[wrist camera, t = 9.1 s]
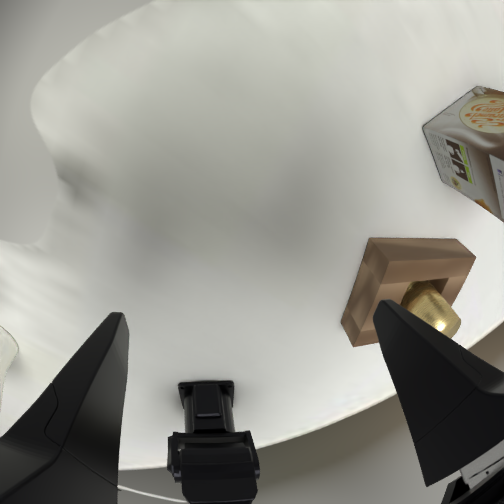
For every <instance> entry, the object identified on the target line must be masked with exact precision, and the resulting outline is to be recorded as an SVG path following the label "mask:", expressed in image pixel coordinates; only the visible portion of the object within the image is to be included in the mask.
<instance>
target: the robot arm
mask: <svg viewBox="0 0 504 504" xmlns="http://www.w3.org/2000/svg"><path fill="white" fill-rule="evenodd" d="M373 323H374V327H375V330H376V333H377V337H378V340H379V344H380V347H381V351H382V354H383V357H384V360H385V362H386V365H387V367H388V370H389V373H390V375H391V378H392V381H393V383H394V386H395V389H396V392H397V394H398V397H399V400H400V403H401V406H402V409H403V412H404V415H405V417H406V420H407V424H408V426H409V430H410V433H411V436H412V439H413V442H414V446H415V449H416V453H417V456H418V460H419V463H420V467H421V470H422V474H423V478H424V482H425V485H426V487H428V486H430V485H432V484H434V483H436V482H438V481H440V480H442V479H444V478H445V477H447V476H449V475H451V474H453V473H454V472H456V471H458V470H459V471H460V473H461V476H460V477H458V478H457V479H456V480H454V481H452V482H451V483H449V484H448V486H447V489H446V492H445V495H444V497H443V500H442V503H441V504H504V372H502V371H501V370H499V369H497V368H496V367H494V366H492V365H490V364H489V363H487V362H485V361H484V360H482V359H480V358H479V357H477V356H475V355H474V354H472V353H471V352H469V351H468V350H466V349H465V348H464V347H462V346H461V345H458V343H456V342H455V341H453V340H452V339H450V338H449V337H447V336H446V335H444V334H443V333H441V332H440V331H439V330H437V329H436V328H434V327H433V326H431V325H430V324H428V323H427V322H425V321H423V320H422V319H420V318H419V317H417V316H416V315H414V314H413V313H411V312H410V311H408V310H407V309H405V308H404V307H402V306H401V305H399V304H397V303H396V302H394V301H393V300H391V299H382V300H380V301H379V303H378V305H377V307H376V310H375V312H374V314H373ZM128 349H129V329H128V326H127V322H126V319H125V315H124V314H123V313H122V312H112V313H110V314H109V315H108V316H107V317H106V319H105V320H104V321H103V322H102V323H101V324H100V325H99V326H98V328H97V329H96V330H95V331H94V332H93V333H92V334H91V336H90V337H89V338H88V339H87V340H86V341H85V342H84V344H83V345H82V346H81V347H80V348H79V349H78V351H77V352H76V353H75V354H74V355H73V356H72V358H71V359H70V360H69V361H68V362H67V364H66V365H65V366H64V367H63V368H62V370H61V371H60V372H59V373H58V375H57V376H56V377H55V378H54V379H53V381H52V383H50V384H49V386H48V387H47V388H46V389H45V391H44V392H43V393H42V394H41V395H40V397H39V398H38V399H37V400H36V401H35V402H34V403H33V405H32V406H31V407H30V408H29V409H28V410H27V411H26V412H25V413H24V414H23V415H22V416H21V417H20V418H19V419H18V420H17V422H16V423H15V424H14V425H13V426H12V427H11V428H10V429H9V430H8V431H7V432H6V433H5V434H4V435H3V436H2V437H0V504H117V492H118V487H117V486H118V463H119V448H120V436H121V425H122V415H123V407H124V399H125V391H126V384H127V374H128ZM178 389H179V393H180V397H181V401H182V405H183V409H184V412H185V433H178V432H173V435H172V436H170V437H168V459H167V470H168V471H169V472H171V473H172V475H173V477H174V479H175V483H182V493H183V496H184V498H185V500H186V501H187V502H188V503H189V504H251V503H252V501H253V500H254V499H255V496H256V494H257V491H258V490H257V485H256V484H257V483H256V480H258V479H259V476H260V468H259V460H258V457H257V453H256V449H255V446H254V443H253V439H252V436H251V432H250V431H245V432H235V427H234V421H233V413H232V407H233V398H234V383H233V382H230V381H229V382H209V383H180V384H178ZM180 449H181V450H180Z"/></svg>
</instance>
